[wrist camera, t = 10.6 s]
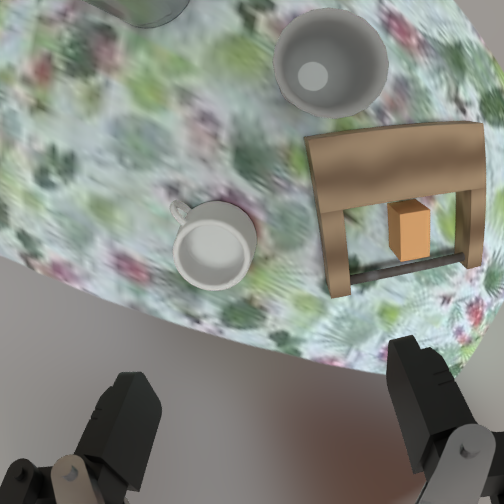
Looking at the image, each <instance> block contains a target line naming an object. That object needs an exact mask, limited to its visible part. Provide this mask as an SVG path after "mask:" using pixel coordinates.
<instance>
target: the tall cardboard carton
mask: <svg viewBox="0 0 504 504" xmlns="http://www.w3.org/2000/svg"><path fill="white" fill-rule="evenodd" d="M387 209H388V226H389V247H390V249H391V250H392V251H393V252H394V254H395V255H396V256H397V258H398V259H399V260H400V262H403V261H408V260H413V259H418V258H423V257H428V256H430V209H428V208H427V207H426V206H424V205H423V204H421V203H420V202H419V201H417V200H416V199H412V200H406V201H399V202H392V203H387Z"/></svg>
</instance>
